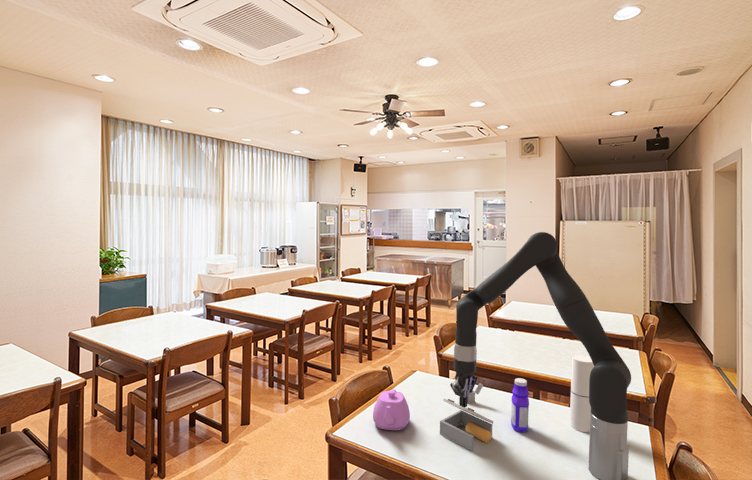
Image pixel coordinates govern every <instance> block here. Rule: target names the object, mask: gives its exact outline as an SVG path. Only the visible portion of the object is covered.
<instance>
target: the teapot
mask: <svg viewBox="0 0 752 480" xmlns="http://www.w3.org/2000/svg"><path fill="white" fill-rule="evenodd" d="M410 413H411V412H410V409H409V404H408V402H407V399H406V398H405V395H404V393H402V392H400V391H397V390H396V389H394V388H393V389H391V390H385V391H382V392H381V393H380V394H379V396H378V398H377V399H376V402H375V404H374V406H373V411H372V419H373V422H374V424H375V425H376V427H377V428H379V429H381V430H386V431H400V430H403V429H405V428H406V426H407V425H408V423H409V422H410V418H411V417H410V416H411V414H410Z"/></svg>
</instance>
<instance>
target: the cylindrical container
mask: <svg viewBox="0 0 752 480" xmlns="http://www.w3.org/2000/svg"><path fill="white" fill-rule="evenodd" d="M593 367H594V365H593V362H592V360H591V358H590V356H585V355H582V354H581V355H579V354H575V355H572V357H571V379H570V403H569V404H570V407H569V412H570V413H569V427H571V428H572V429H573V430H576V431H578V432H582V433H590V414H591V406H590V403H589V379H590V373H591V370H592V369H593Z"/></svg>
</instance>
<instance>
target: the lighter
mask: <svg viewBox="0 0 752 480" xmlns="http://www.w3.org/2000/svg"><path fill="white" fill-rule="evenodd" d="M483 387H484V384H483V383H481V382H480V383H479V384H478V385H477V387H476V388H475V390H473V391H472V393H469V396H468V403H467V404H475V403H476V395H479V394H480V393H481V390H482V389H483Z"/></svg>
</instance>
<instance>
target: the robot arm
mask: <svg viewBox="0 0 752 480" xmlns="http://www.w3.org/2000/svg"><path fill="white" fill-rule="evenodd" d="M562 261H563V260H562V259H561V257H560V255H559V253H558V242H557V239H556V238H555V236H554V235H552V234H551V233H549V232H545V231H540V232H535V233H534V234H532V235H531V236H529V238H527V241H526V242H524V244H523V245H522V247H520V248H519V250H518V251H517V252H516V253H515V254H514V255H513V256H512V257H511V258H510V259H509V260H508V261H506V263H504V264H503V265H502V266H501V267H499V268H498V269H496V270H495V271H494V272H493V273H491V274H490V275H489V276H488V277H487V278H485V279H484V280H483V281H481V282H480V283H479V284H478V285H477V286H476V287H475V288H474V289H472V290H470V291H469V292H467V293H466V294H464V295H463V296H461V298H460V299H458V301H457V303H456V307H455V309H456V314H455V316H456V322H455V323H456V328H455V336H454V338H455V340H454V347H453V370H454V371H455V376H454V381H453V382H451V383H450V384H449V385H450V387H451V389H452V392H453V393H454V395H456V396H458V397H459V398H458V399H459V401H458V403H459V404H458V405H460V406H462V407H464V408H468V404H469V403H468V396H469V393H472V391H474V388H475V386H476V384H477V381H478V376H476V375H474V373H476V372H477V359H478V357H477V355H478V350H477V329H478V327H477V326H478V319H479V318H478V317H479V310H481V309H482V308H483V307H485V306H486V305H487V304H491V303H493V302H494V301H496V300H497V299H498V298H499V297H500V296H502V295H503V294H504V293H506V292H507V291H508V289H510V288H511V287H512V286H513V285H514V284H515V283H516V281H518V280H519V279H520V278H521V277H522V276H523V275H525V274H526V273H527V272H528V271H529V270H531V269H533V267H536V269H537V270H538V272H539V273H540V274H541V276H542V278H543V280H544V282H545V284H546V287H547V290H548V292H549V295H550V297H551V299H552V302H553V304H554V306H555V308H556V310H557V312H558V313H559V316H560V318H561V320H562V321H563V323H564V325H565V326H566V327H567V329H568V330H569V331H570V332H571V333H572V334H573V335H574V336H575V337H576V338H577V339H578V340H579V342H581V344H582V345H583V347H584V348H585V350H586V352H587V354H588V357H590V358H591V360H592V362H593V365H594V367H593V369H592V370H591V373H590V379H589V403H590V406H591V414H590V432H589V445H588V470H589V472H590V474H592V476H594V477H595V478H597V479H598V480H627V479H628V477H629V458H630V457H629V455H630V454H629V453H630V449H629V448H630V445H629V444H628V425H629V412H628V409H627V403H628V402H627V397H628V395H627V394H628V388H629V386H630V385H631V382H632V373H631V371H630V368H629V366H627V364H626V362H625V361H624V359H623V358H622V357H621V356H620V354H619V352H618V351H617V349H616V347H614V345H613V344H612V342H611V340H610V338H609V337H608V335H607V334H606V331H605V329H604V327H603V325H602V323H601V322H600V320H599V318H598V316H597V314H596V312H595V311H594V309H593V307H592V304H591V303H590V301H589V299H588V298H587V296H586V294H585V292H584V291H583V289H582V288H581V287H580V286H579V284H578V283H577V282H576V281H575V279H573V277H572V276H571V275H570V274H569V272H568V271H567V269H566V267H565V265H564V263H563V262H562Z"/></svg>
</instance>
